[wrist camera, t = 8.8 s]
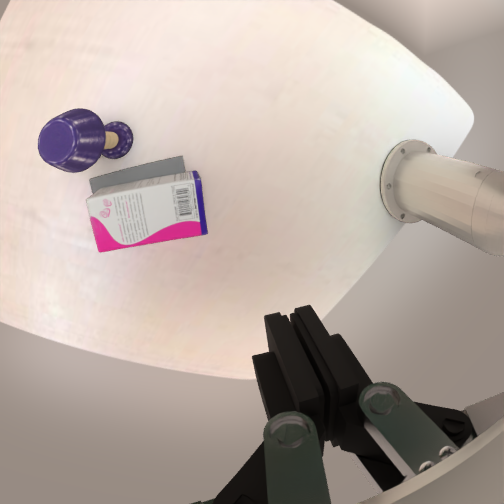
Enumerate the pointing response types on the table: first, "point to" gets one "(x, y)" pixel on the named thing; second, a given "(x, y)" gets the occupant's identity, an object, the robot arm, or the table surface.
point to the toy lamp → (82, 140)
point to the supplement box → (148, 211)
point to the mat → (139, 173)
